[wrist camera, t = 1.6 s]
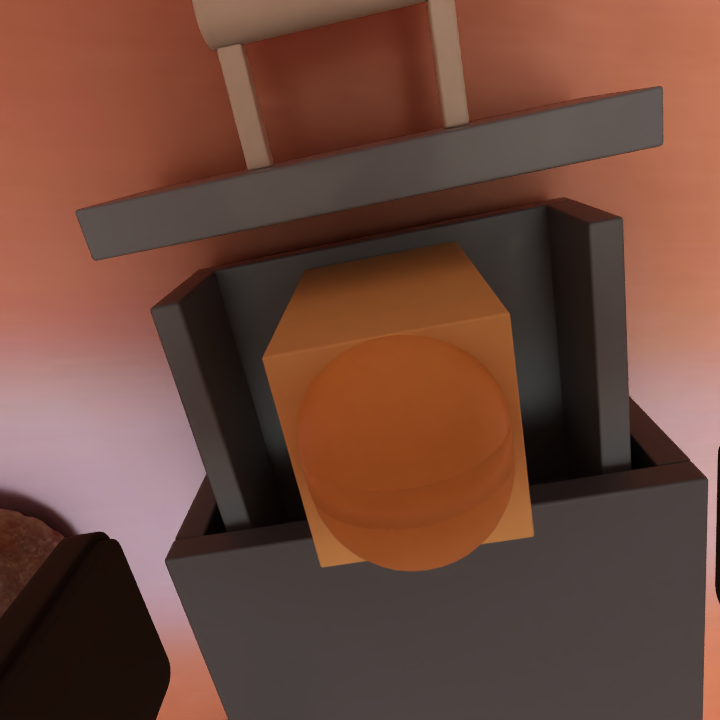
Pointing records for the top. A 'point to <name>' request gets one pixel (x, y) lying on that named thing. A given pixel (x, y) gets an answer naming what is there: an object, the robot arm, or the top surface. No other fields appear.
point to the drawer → (377, 185)
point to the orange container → (401, 410)
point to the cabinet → (468, 610)
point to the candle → (21, 552)
